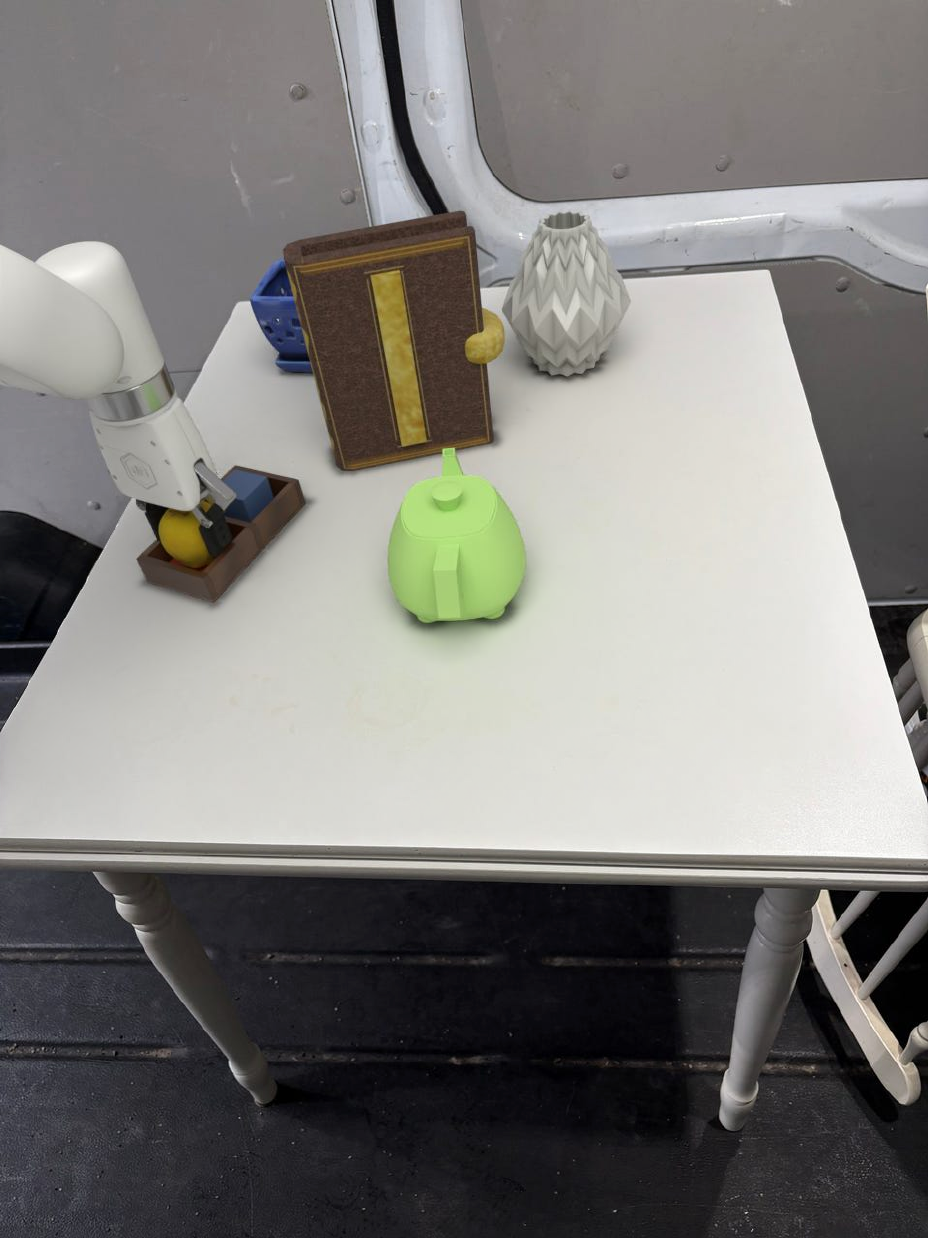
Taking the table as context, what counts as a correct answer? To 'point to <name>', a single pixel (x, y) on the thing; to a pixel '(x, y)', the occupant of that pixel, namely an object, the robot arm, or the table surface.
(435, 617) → the teapot
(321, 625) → the table surface
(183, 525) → the apple
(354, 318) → the book
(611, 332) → the vase
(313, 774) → the table surface
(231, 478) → the blue block
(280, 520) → the tray
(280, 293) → the flower pot
